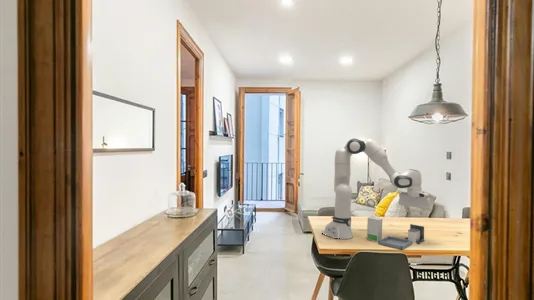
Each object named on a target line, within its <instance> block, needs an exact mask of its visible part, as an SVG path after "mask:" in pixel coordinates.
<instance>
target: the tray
mask: <svg viewBox="0 0 534 300" xmlns="http://www.w3.org/2000/svg"><path fill="white" fill-rule="evenodd" d="M377 243H378V245H380V246H385V247H387V248H388V247H389V248H392V249H396V250H399V251H404V250H405V249H407V248H409V247H410V246H412V245H413V243H412V241H410V240H406V239H405V238H400V237H398V236H397V237H396V236H392V235H387V236H385V237H382V239H381V240H379V242H377Z"/></svg>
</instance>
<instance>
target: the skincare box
mask: <svg viewBox="0 0 534 300" xmlns="http://www.w3.org/2000/svg"><path fill="white" fill-rule="evenodd" d="M366 226H367V227H366V240H367V241H372V242H376V243H378V242H379V240H381V239H383V218H382V217H376V216H372V215H371V216H369V217H367V225H366Z"/></svg>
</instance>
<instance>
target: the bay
mask: <svg viewBox="0 0 534 300" xmlns="http://www.w3.org/2000/svg"><path fill="white" fill-rule="evenodd" d="M411 228H415V229H420V240H418V241H417V243H416V244H417V245H420V244H422V243H424V242H425V226H424V225H417V224H413V223H410V225H409V229H411ZM404 239H406V240H408V236H406V237H405V238H404Z"/></svg>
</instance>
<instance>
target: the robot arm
mask: <svg viewBox="0 0 534 300" xmlns="http://www.w3.org/2000/svg"><path fill="white" fill-rule="evenodd" d="M362 152H363V153H365V155H366V156H367V157H368V158H369V159H370V161H372V162H373V163H375V165H377V166H379V167H380V168H381V169H382V170H383V171H384V172H385V173H386V175H387V176H388V177H389V179H390V183H391V184H392V186H394V187H396V188H398V189H407V190H406V191H407V192H406V191H405V192H404V191H400V192H399V194H398V197H399V198H398V205H399V206H403V207H404V209H405V212H406V213H410V209H408V207H413V208H419V209H421V211H419V214H420V215H424V212H425V210H426V209H431V207H432V201H431V198H430V193H428V192H427V191H424V190H423V189H422V182H423V180H422V173H421V171H419V170H418V169H411V168H409V169H407V171H405V172H402V173H400V172H399V171H397V170H396V169H395V168H394V167H393V166H392V164H391V163H390V161H389V159H388V154H387V153H386V151H385V149H384V148H383V147H382V146H381V145H380V144H379V143H378V142H377V141H375V140H374V139H373V138H366V139H364V140H360V139H359V138H350V139H349V140H348V141H347V142H346V143H345V145H344V147H340V148H337V150H336V151H335V153H334V181H333V185H334V186H333V189H334V193H335V199H334V201H335V203H334V216H332V217H331V219H332V221H330V222H329V223H328V224H326V225H325V226H324V227H325V228H324V230H323V231H322V232H321V234H322V233H323V234H326V235H328V236H327V237H329V236H331V237H333V238H332V239H334V238H338V239H337V240H349V239H353V234H352V233H353V232H352V216H351V211H352V210H351V207H352V206H351V205H352V195H353V190H352V187H351V186H350V183H351V182H350V180H351V157H352V155H358V154H360V153H362ZM323 234H322V235H323ZM326 235H325V236H326ZM331 237H330V238H331ZM339 238H340V239H339Z"/></svg>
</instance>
